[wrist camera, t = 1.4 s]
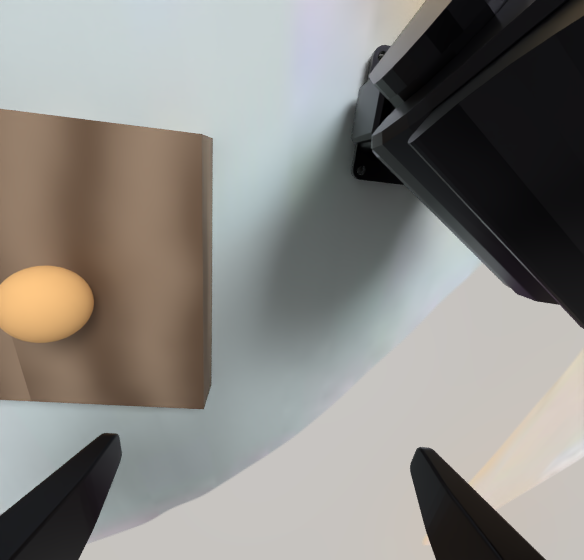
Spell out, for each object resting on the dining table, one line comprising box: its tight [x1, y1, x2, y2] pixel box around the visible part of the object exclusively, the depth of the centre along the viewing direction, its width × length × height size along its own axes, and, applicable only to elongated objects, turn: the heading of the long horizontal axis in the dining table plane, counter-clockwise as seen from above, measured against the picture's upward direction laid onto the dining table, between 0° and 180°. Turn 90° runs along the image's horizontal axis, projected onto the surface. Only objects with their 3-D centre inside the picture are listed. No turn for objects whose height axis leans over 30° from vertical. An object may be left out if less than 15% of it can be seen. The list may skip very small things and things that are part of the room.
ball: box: [0, 266, 94, 343], centre depth 15 cm, size 4×4×4 cm
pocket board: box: [0, 109, 213, 409], centre depth 18 cm, size 21×18×2 cm
